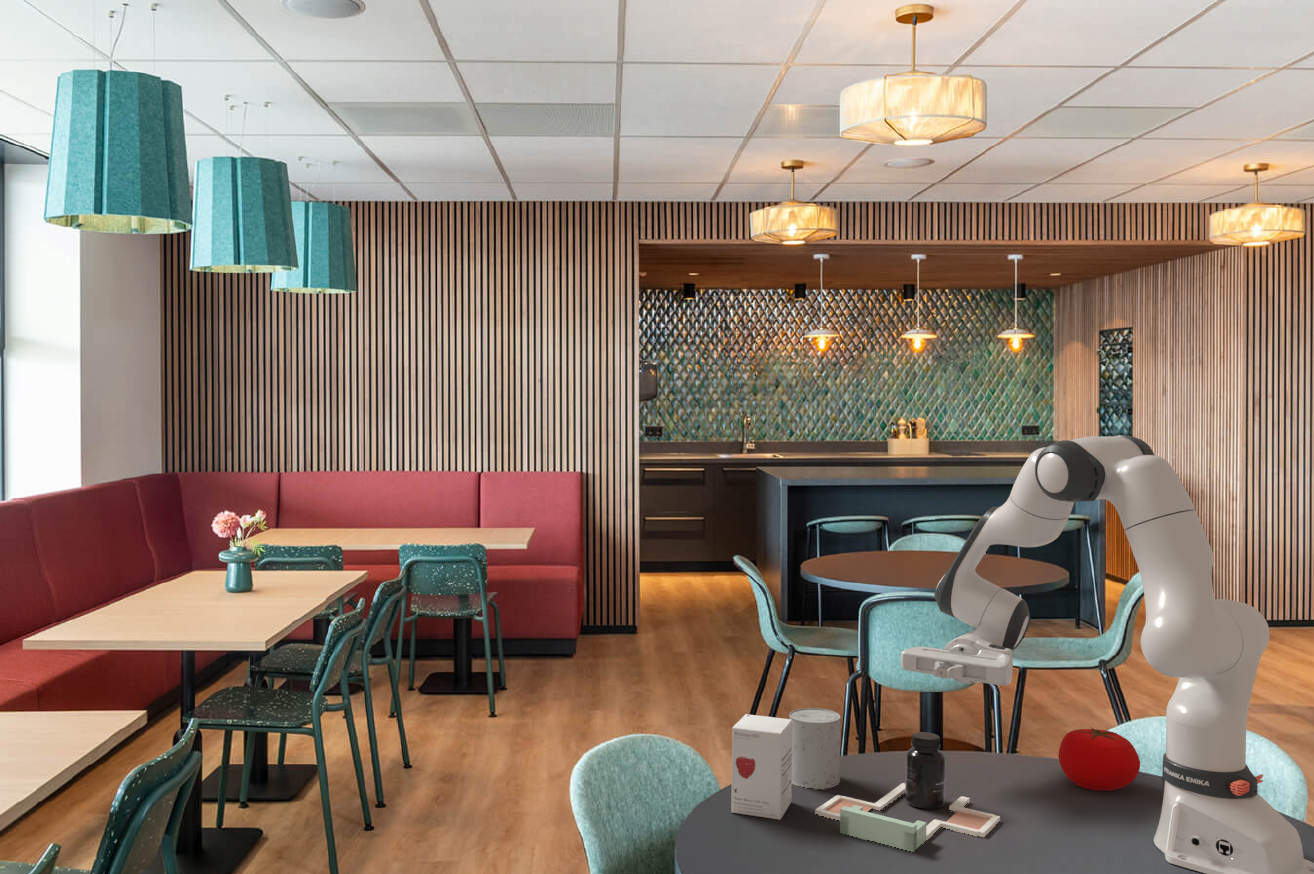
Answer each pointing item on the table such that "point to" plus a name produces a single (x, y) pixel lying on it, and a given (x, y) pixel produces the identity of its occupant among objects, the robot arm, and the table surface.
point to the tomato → (1098, 759)
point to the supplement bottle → (925, 772)
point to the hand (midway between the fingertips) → (941, 673)
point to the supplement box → (761, 766)
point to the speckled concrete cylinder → (815, 748)
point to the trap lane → (897, 831)
